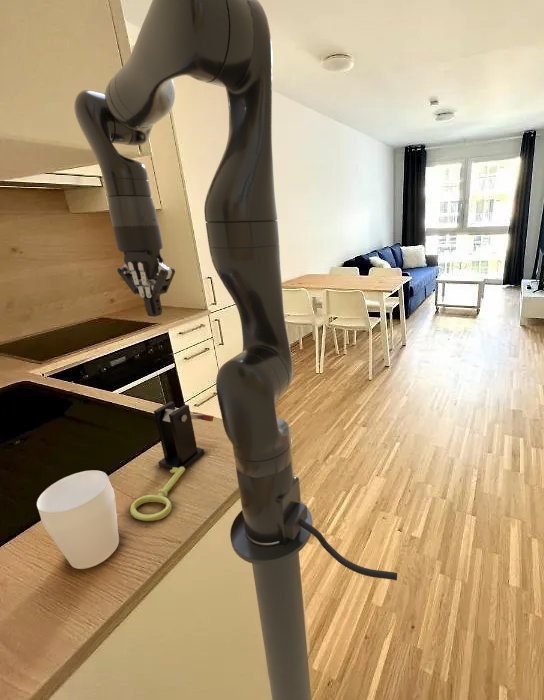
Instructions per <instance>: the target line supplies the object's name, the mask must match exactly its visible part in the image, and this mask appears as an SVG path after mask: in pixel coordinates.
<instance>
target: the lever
mask: <svg viewBox="0 0 544 700" xmlns="http://www.w3.org/2000/svg"><path fill="white" fill-rule="evenodd" d="M176 410H177V409H176V408H175V409H165V412H164V417H163V421H167V422H170V418H169V414H171V413H172V412H174V411H176ZM190 414H191V419H192V420H202V421H206V422H213V421H214V415H211V414H207V413H201V412H196V411H195V412H192V413H190Z"/></svg>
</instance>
